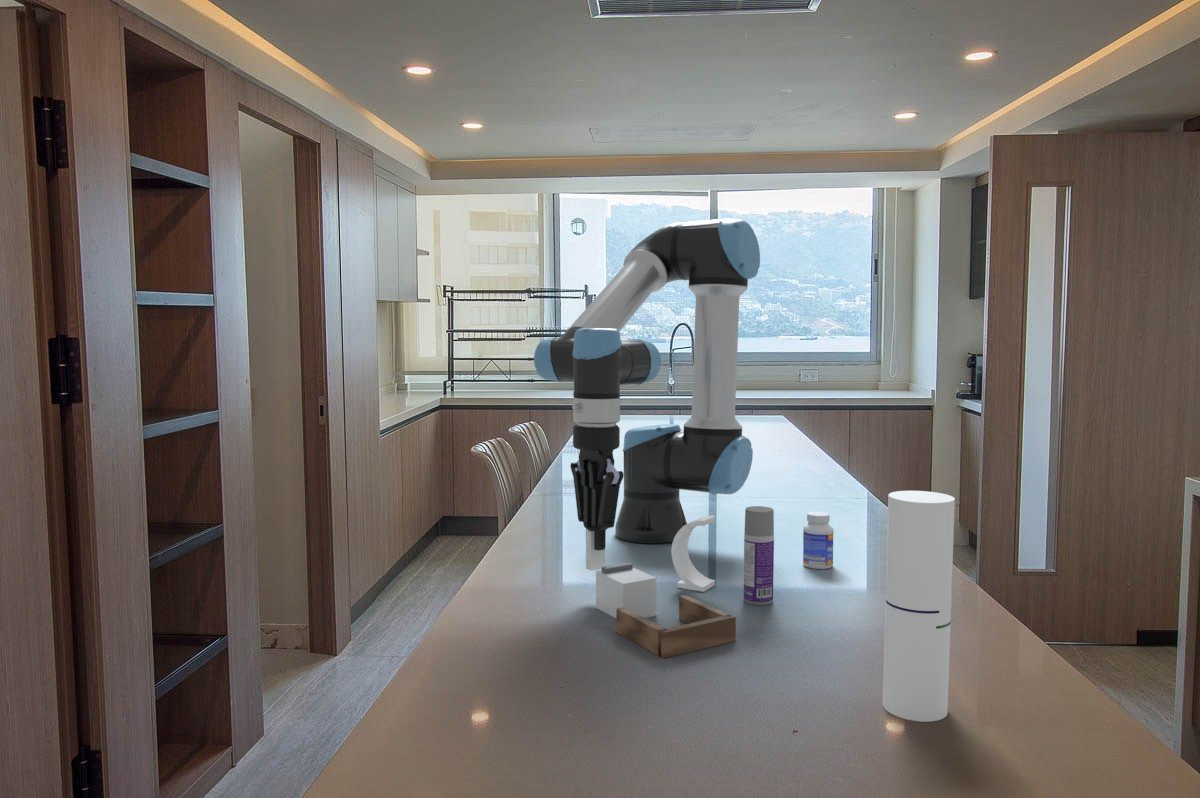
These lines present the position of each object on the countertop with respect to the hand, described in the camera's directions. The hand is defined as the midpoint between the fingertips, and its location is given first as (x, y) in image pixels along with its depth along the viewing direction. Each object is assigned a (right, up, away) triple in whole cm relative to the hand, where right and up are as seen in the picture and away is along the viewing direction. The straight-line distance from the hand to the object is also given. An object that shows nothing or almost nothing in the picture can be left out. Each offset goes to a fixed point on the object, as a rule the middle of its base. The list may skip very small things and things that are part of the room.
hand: (595, 568), depth 146 cm
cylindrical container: (+37, -9, -41) cm, 57 cm away
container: (+26, -5, -2) cm, 27 cm away
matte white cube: (+5, -6, -7) cm, 10 cm away
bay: (+11, -6, -18) cm, 22 cm away
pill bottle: (+41, -3, +19) cm, 45 cm away
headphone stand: (+17, -4, +7) cm, 18 cm away
